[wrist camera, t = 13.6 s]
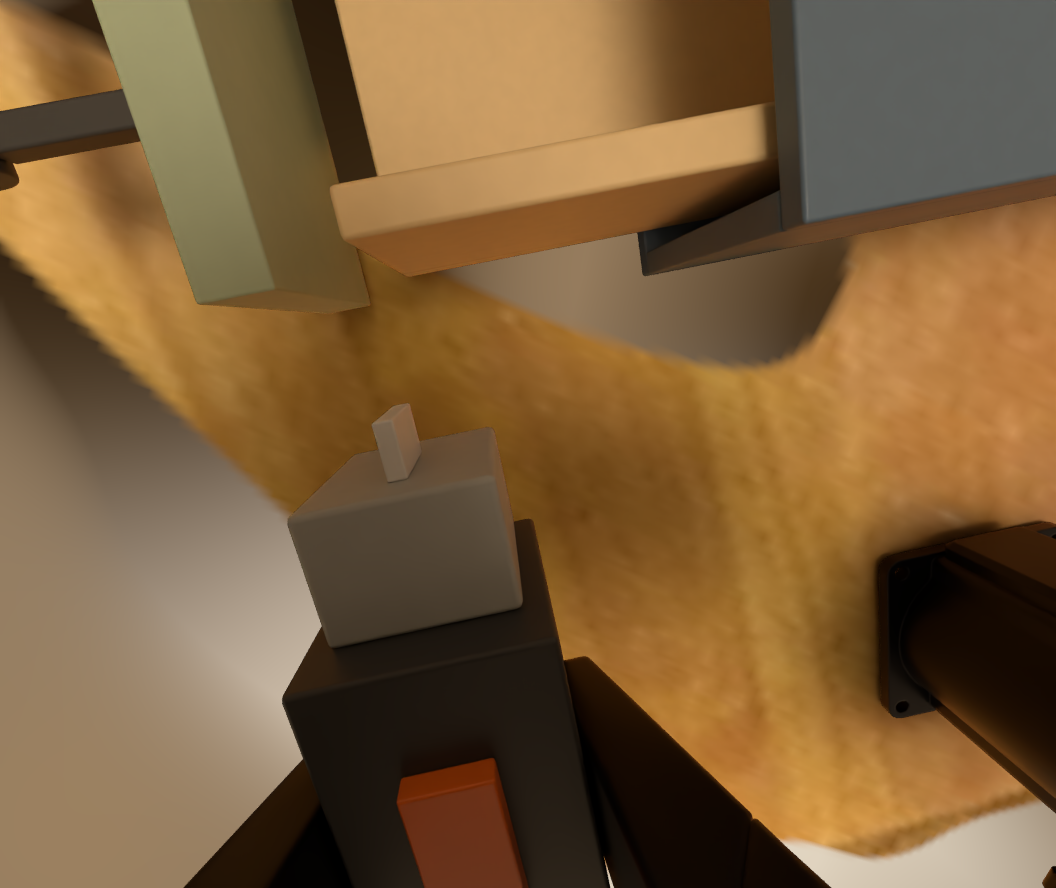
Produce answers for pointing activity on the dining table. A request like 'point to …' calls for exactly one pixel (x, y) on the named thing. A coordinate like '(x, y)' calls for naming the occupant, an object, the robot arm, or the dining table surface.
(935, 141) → the cabinet
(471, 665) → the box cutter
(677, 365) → the dining table surface
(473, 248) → the drawer
